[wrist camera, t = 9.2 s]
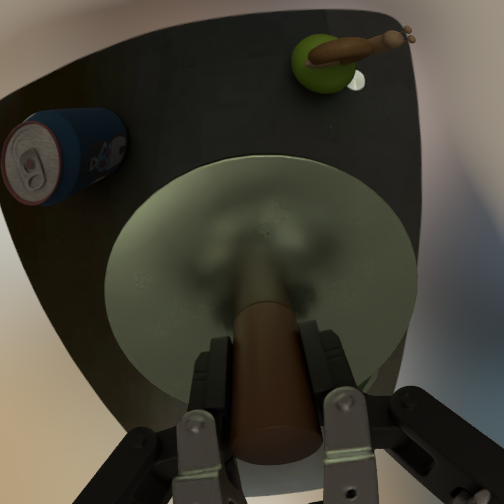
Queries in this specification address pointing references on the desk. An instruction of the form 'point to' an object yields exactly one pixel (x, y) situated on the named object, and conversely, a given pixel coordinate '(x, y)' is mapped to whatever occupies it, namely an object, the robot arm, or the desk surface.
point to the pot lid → (260, 287)
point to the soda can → (61, 153)
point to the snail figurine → (337, 58)
